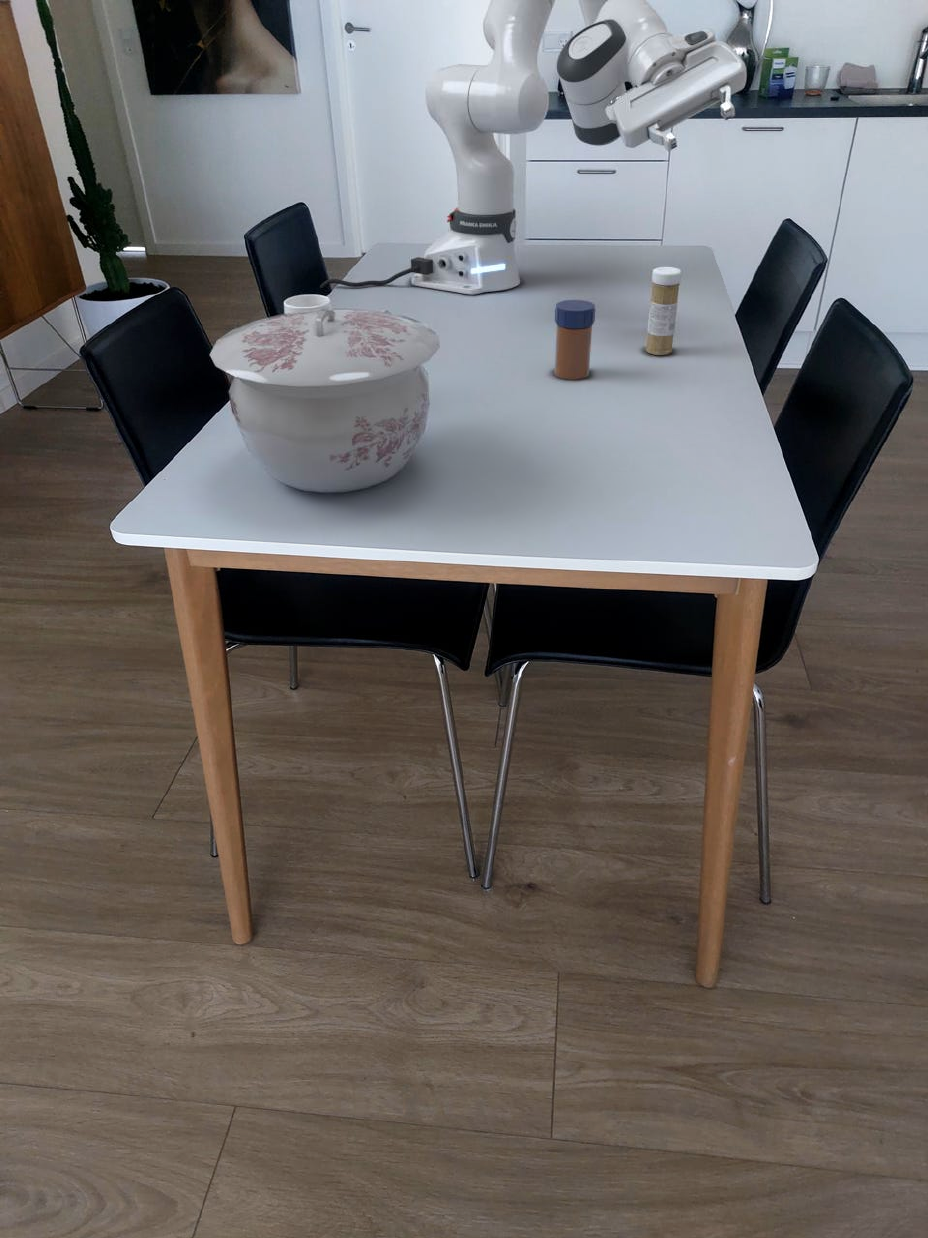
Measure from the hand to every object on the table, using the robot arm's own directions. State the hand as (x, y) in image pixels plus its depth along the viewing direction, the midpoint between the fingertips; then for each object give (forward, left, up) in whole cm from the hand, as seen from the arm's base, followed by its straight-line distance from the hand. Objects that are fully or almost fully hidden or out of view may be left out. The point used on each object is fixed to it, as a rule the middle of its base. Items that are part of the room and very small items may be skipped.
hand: (701, 130), depth 143 cm
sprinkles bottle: (-2, -3, -33) cm, 34 cm away
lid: (-13, -18, -23) cm, 32 cm away
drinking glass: (-46, -42, -33) cm, 71 cm away
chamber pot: (-32, -62, -33) cm, 77 cm away
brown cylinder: (-13, -18, -33) cm, 40 cm away
